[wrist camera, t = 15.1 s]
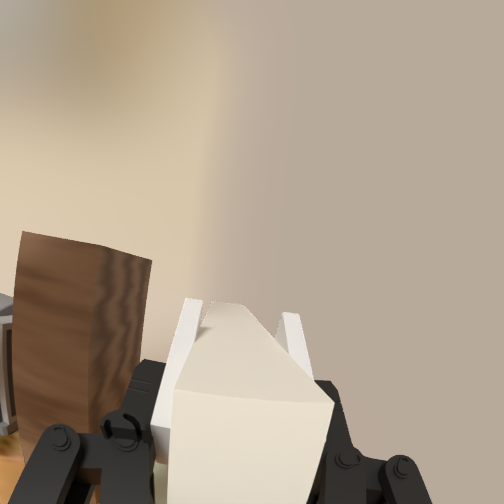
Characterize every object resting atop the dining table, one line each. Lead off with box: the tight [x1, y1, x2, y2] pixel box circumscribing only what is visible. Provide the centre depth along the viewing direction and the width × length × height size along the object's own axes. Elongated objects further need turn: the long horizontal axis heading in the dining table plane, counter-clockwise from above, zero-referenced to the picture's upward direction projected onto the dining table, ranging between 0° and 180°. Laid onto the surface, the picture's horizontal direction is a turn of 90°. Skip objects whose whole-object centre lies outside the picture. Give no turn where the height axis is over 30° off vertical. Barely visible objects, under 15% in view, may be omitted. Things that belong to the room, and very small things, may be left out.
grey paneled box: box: [0, 293, 18, 436], centre depth 34 cm, size 18×13×18 cm
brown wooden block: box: [12, 231, 152, 504], centre depth 31 cm, size 20×9×28 cm, turn 5°
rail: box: [167, 300, 334, 504], centre depth 20 cm, size 28×4×4 cm, turn 5°
